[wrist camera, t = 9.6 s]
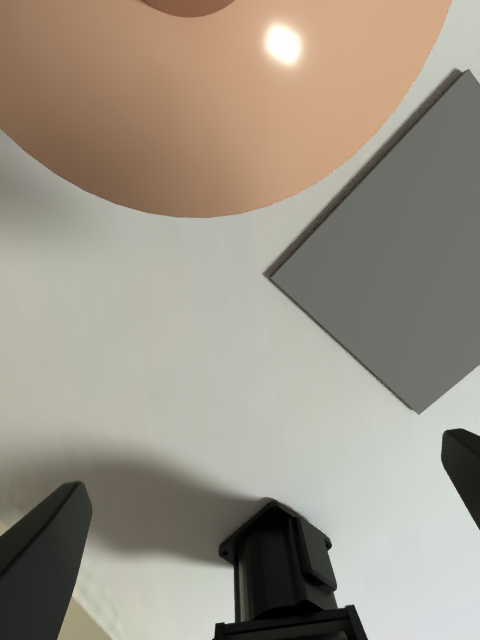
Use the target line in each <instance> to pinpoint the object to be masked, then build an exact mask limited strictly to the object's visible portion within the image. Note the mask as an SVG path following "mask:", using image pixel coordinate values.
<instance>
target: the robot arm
mask: <svg viewBox="0 0 480 640" xmlns="http://www.w3.org/2000/svg"><path fill="white" fill-rule="evenodd" d="M441 460H442V464H443V467H444V469H445V470H446V472H447V474H448V476H449V477H450V479H451V481H452V483H453V484H454V486H455V488H456V490H457V491H458V493H459V495H460V497H461V499H462V500H463V502H464V504H465V506H466V507H467V509H468V511H469V513H470V514H471V516H472V518H473V520H474V521H475V523H476V525H477V526H478V528H479V530H480V436H478V435H476V434H474V433H471V432H469V431H467V430H465V429H461V428H459V429H451V430H446V431H445V432H444V433H443V437H442V451H441ZM91 517H92V504H91V501H90V499H89V496H88V493H87V490H86V487H85V485H84V483H83V482H82V481H72V482H66V483H64V484H62V485H61V486H60V487H59V488H57V489H56V490H55V491H54V492H53V493H51V494H50V495H49V496H48V497H47V498H46V499H44V500H43V501H42V502H41V503H40V504H38V505H37V506H36V507H35V508H34V509H32V510H31V511H30V512H29V513H28V514H27V515H25V516H24V517H23V518H22V519H21V520H19V521H18V522H17V523H16V524H15V525H13V526H12V527H11V528H10V529H9V530H7V531H6V532H5V533H4V534H3V535H2V536H0V640H57V638H58V635H59V632H60V629H61V626H62V623H63V620H64V617H65V614H66V611H67V608H68V605H69V602H70V599H71V596H72V593H73V590H74V587H75V583H76V580H77V576H78V572H79V568H80V564H81V559H82V555H83V551H84V547H85V542H86V538H87V534H88V530H89V526H90V521H91ZM331 547H332V544H331V541H330V539H329V538H328V537H327V536H326V535H324V534H323V533H322V532H321V531H320V530H319V529H317V528H316V527H314V526H313V525H311V524H310V523H309V522H307V521H306V520H304V519H303V518H301V517H300V516H297V515H296V514H294V513H293V512H291V511H290V510H289V509H287V508H286V507H284V506H283V505H281V504H280V503H278V502H271V503H269V504H268V505H267V506H266V507H264V508H263V509H262V510H261V511H260V512H259V513H257V514H256V515H255V516H254V517H253V518H252V519H250V520H249V521H248V522H247V523H246V524H245V525H243V526H242V527H241V528H240V529H239V530H238V531H236V532H235V533H234V534H233V535H232V536H231V537H229V538H228V539H227V540H226V541H225V542H224V543H222V544H221V545H220V546H219V556H220V557H222V558H223V559H225V560H227V561H228V562H230V563H231V564H233V565H234V599H235V623H229V624H225V623H224V622H222V623H216V625H215V636H214V639H212V640H368V639H367V636H366V634H365V631H364V629H363V626H362V624H361V621H360V619H359V616H358V614H357V611H356V609H355V606H354V605H347V606H345V608H338V607H337V603H336V600H335V596H334V591H335V590H336V589H337V583H336V579H335V576H334V572H333V569H332V565H331V562H330V559H329V555H328V552H327V551H328V550H329V549H330V548H331Z"/></svg>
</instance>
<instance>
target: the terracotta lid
mask: <svg viewBox="0 0 480 640" xmlns="http://www.w3.org/2000/svg"><path fill="white" fill-rule="evenodd" d="M451 2H452V0H0V129H1V130H3V131H4V132H5V133H6V134H7V135H8V136H9V137H10V138H11V139H12V140H13V141H14V142H16V143H17V144H18V145H19V146H20V147H21V148H22V149H23V150H24V151H25V152H27V153H28V154H29V155H31V156H32V157H33V158H35V159H36V160H37V161H39V162H40V163H41V164H43V165H44V166H46V167H47V168H48V169H50V170H51V171H52V172H54V173H55V174H57V175H59V176H60V177H62V178H64V179H65V180H67V181H69V182H71V183H72V184H74V185H76V186H78V187H79V188H81V189H83V190H85V191H87V192H89V193H91V194H94V195H96V196H98V197H101V198H103V199H105V200H108V201H110V202H112V203H115V204H118V205H121V206H125V207H128V208H132V209H135V210H139V211H142V212H146V213H152V214H158V215H165V216H172V217H190V218H210V217H218V216H226V215H234V214H240V213H244V212H248V211H251V210H255V209H259V208H263V207H266V206H269V205H272V204H274V203H276V202H279V201H281V200H284V199H286V198H288V197H291V196H293V195H296V194H298V193H299V192H301V191H303V190H305V189H306V188H308V187H310V186H311V185H313V184H315V183H317V182H318V181H320V180H322V179H323V178H325V177H326V176H328V175H329V174H330V173H332V172H333V171H334V170H335V169H337V168H338V167H339V166H341V165H342V164H343V163H345V162H346V161H347V160H348V159H350V158H351V157H352V156H353V155H354V154H355V153H356V152H357V151H358V150H359V149H360V148H361V147H362V146H363V145H364V144H365V143H366V142H367V141H368V140H369V139H370V138H372V137H373V136H374V135H375V134H376V133H377V131H378V130H379V129H380V128H381V126H382V125H383V124H384V123H385V121H386V120H387V119H388V118H389V116H390V115H391V114H392V113H393V112H394V110H395V109H396V108H397V107H398V105H399V104H400V103H401V101H402V99H403V98H404V96H405V95H406V93H407V92H408V90H409V88H410V87H411V85H412V84H413V82H414V81H415V79H416V78H417V76H418V74H419V73H420V71H421V69H422V67H423V65H424V63H425V61H426V60H427V58H428V56H429V54H430V52H431V50H432V48H433V46H434V44H435V42H436V40H437V38H438V36H439V34H440V31H441V28H442V26H443V23H444V21H445V18H446V15H447V13H448V10H449V7H450V5H451Z"/></svg>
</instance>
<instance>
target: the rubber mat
mask: <svg viewBox="0 0 480 640" xmlns="http://www.w3.org/2000/svg"><path fill="white" fill-rule="evenodd" d="M270 278H271V279H272V280H273V281H274V282H275V283H276V284H277V285H278V286H279V287H280V288H281V289H283V290H284V291H285V292H286V293H287V294H288V295H289V296H290V297H291V298H292V299H293V300H295V301H296V302H297V303H298V304H299V305H300V306H301V307H302V308H303V309H304V310H305V311H306V312H308V313H309V314H310V315H311V316H312V317H313V318H314V319H315V320H316V321H317V322H318V323H320V324H321V325H322V326H323V327H324V328H325V329H326V330H327V331H328V332H329V333H330V334H331V335H333V336H334V337H335V338H336V339H337V340H338V341H339V342H340V343H341V344H342V345H343V346H345V347H346V348H347V349H348V350H349V351H350V352H351V353H352V354H353V355H354V356H355V357H356V358H358V359H359V360H360V361H361V362H362V363H363V364H364V365H365V366H366V367H367V368H368V369H370V370H371V371H372V372H373V373H374V374H375V375H376V376H377V377H378V378H379V379H380V380H381V381H383V382H384V383H385V384H386V385H387V386H388V387H389V388H390V389H391V390H392V391H393V392H395V393H396V394H397V395H398V396H399V397H400V398H401V399H402V400H403V401H404V402H405V403H407V404H408V405H409V406H410V407H411V408H412V409H413V410H414V411H415V412H416V413H417V414H418V415H419V414H420V413H422V412H423V411H424V410H425V409H427V408H428V407H429V406H430V405H431V404H433V403H434V402H435V401H436V400H437V399H439V398H440V397H441V396H442V395H443V394H445V393H446V392H447V391H448V390H450V389H451V388H452V387H453V386H454V385H456V384H457V383H458V382H459V381H460V380H462V379H463V378H464V377H465V376H466V375H468V374H469V373H470V372H471V371H473V370H474V369H475V368H476V367H477V366H479V365H480V84H479V82H478V81H477V80H476V78H475V77H474V75H473V74H472V73H471V71H470V70H469V69H468V70H466V71H464V72H463V73H462V74H461V75H460V76H459V77H458V78H457V79H456V80H455V81H454V82H453V84H452V85H451V86H450V87H449V88H448V89H447V90H446V91H445V92H444V93H443V94H442V95H441V96H440V97H439V98H438V99H437V101H436V102H435V103H434V104H433V105H432V106H431V107H430V108H429V109H428V110H427V111H426V112H425V113H424V114H423V115H422V116H421V117H420V119H419V120H418V121H417V122H416V123H415V124H414V125H413V126H412V127H411V128H410V129H409V130H408V131H407V132H406V133H405V134H404V135H403V137H402V138H401V139H400V140H399V141H398V142H397V143H396V144H395V145H394V146H393V147H392V148H391V149H390V150H389V151H388V152H387V154H386V155H385V156H384V157H383V158H382V159H381V160H380V161H379V162H378V163H377V164H376V165H375V166H374V167H373V168H372V169H371V170H370V172H369V173H368V174H367V175H366V176H365V177H364V178H363V179H362V180H361V181H360V182H359V183H358V184H357V185H356V186H355V187H354V188H353V190H352V191H351V192H350V193H349V194H348V195H347V196H346V197H345V198H344V199H343V200H342V201H341V202H340V203H339V204H338V205H337V207H336V208H335V209H334V210H333V211H332V212H331V213H330V214H329V215H328V216H327V217H326V218H325V219H324V220H323V221H322V222H321V223H320V225H319V226H318V227H317V228H316V229H315V230H314V231H313V232H312V233H311V234H310V235H309V236H308V237H307V238H306V239H305V240H304V241H303V243H302V244H301V245H300V246H299V247H298V248H297V249H296V250H295V251H294V252H293V253H292V254H291V255H290V256H289V257H288V258H287V259H286V261H285V262H284V263H283V264H282V265H281V266H280V267H279V268H278V269H277V270H276V271H275V272H274V273H273V274H272V275H271V276H270Z"/></svg>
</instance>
